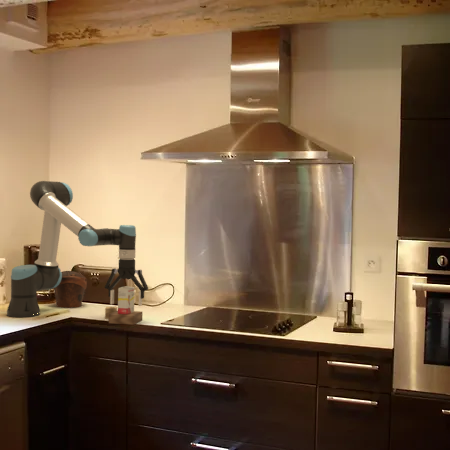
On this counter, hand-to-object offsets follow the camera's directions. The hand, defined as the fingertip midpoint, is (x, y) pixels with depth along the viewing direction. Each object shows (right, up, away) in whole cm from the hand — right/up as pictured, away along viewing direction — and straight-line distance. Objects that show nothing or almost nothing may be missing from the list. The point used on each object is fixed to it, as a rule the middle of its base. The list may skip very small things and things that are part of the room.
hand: (126, 304), depth 288 cm
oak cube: (-9, -7, +9) cm, 15 cm away
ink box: (0, -4, 0) cm, 4 cm away
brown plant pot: (-36, -6, +41) cm, 55 cm away
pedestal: (0, -8, 0) cm, 8 cm away
